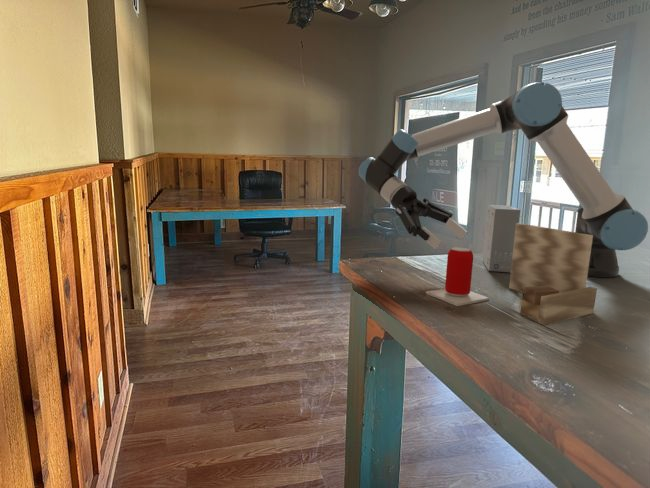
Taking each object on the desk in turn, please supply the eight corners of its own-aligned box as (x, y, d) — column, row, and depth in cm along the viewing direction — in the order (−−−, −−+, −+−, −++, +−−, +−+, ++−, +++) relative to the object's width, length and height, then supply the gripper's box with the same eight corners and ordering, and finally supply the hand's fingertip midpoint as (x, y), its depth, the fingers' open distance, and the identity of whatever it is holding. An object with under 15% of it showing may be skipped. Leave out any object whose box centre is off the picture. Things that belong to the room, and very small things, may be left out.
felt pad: (457, 288, 123) (457, 286, 123) (489, 300, 113) (489, 297, 113) (426, 293, 118) (426, 291, 117) (456, 306, 108) (457, 303, 108)
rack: (464, 295, 117) (471, 226, 113) (512, 287, 125) (519, 223, 122) (544, 325, 97) (554, 243, 94) (594, 312, 106) (605, 237, 102)
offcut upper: (523, 299, 104) (524, 286, 104) (546, 298, 105) (547, 285, 105) (534, 304, 100) (535, 291, 100) (557, 303, 102) (559, 290, 101)
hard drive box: (514, 273, 141) (521, 210, 137) (488, 271, 142) (494, 208, 138) (504, 262, 156) (510, 204, 152) (481, 261, 157) (487, 203, 153)
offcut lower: (519, 314, 104) (521, 300, 103) (538, 310, 108) (540, 296, 107) (539, 321, 100) (541, 306, 99) (558, 316, 103) (560, 302, 103)
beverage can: (474, 297, 113) (478, 250, 111) (451, 298, 112) (455, 251, 110) (462, 290, 119) (466, 245, 117) (440, 291, 118) (443, 246, 115)
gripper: (417, 198, 146) (467, 240, 136) (367, 212, 129) (420, 260, 119) (428, 179, 141) (481, 221, 131) (377, 190, 125) (433, 239, 115)
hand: (452, 240), depth 125 cm, fingers open, 13 cm apart
